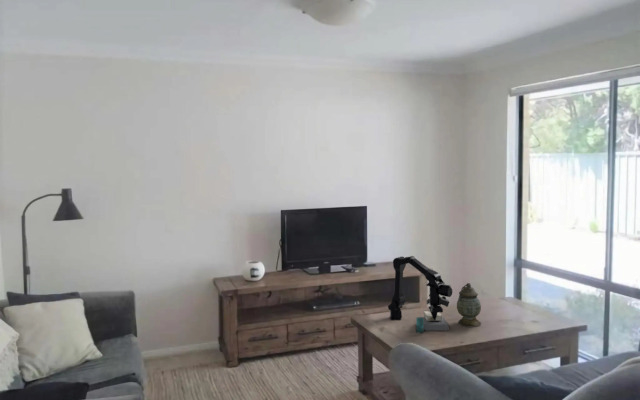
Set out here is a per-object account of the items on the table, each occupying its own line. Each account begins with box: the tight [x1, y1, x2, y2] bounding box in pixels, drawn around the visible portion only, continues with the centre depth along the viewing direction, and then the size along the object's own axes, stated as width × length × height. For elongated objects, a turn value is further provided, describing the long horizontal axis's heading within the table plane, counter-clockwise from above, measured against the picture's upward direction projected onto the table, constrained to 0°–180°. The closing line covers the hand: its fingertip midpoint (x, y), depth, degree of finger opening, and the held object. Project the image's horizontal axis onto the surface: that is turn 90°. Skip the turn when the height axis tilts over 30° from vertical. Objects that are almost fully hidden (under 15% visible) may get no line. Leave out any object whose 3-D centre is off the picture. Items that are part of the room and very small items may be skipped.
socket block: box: [420, 316, 449, 331], centre depth 297 cm, size 14×14×4 cm
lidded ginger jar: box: [456, 282, 482, 328], centre depth 300 cm, size 14×14×25 cm
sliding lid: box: [423, 310, 443, 321], centre depth 300 cm, size 9×9×3 cm
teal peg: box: [415, 316, 424, 334], centre depth 288 cm, size 4×4×8 cm
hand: (434, 319), depth 295 cm, fingers closed
